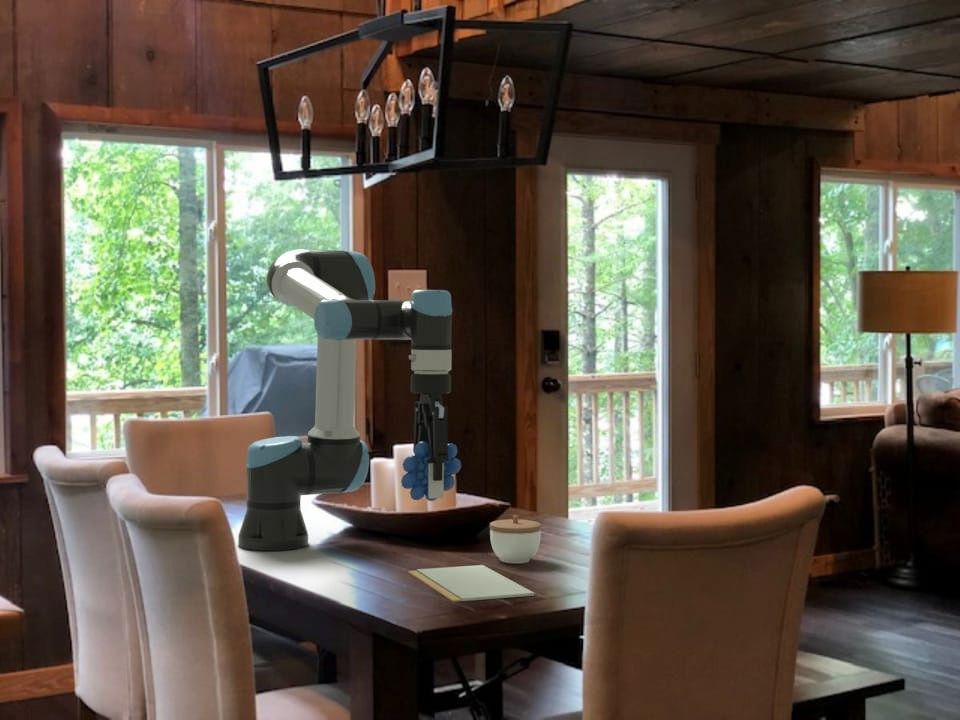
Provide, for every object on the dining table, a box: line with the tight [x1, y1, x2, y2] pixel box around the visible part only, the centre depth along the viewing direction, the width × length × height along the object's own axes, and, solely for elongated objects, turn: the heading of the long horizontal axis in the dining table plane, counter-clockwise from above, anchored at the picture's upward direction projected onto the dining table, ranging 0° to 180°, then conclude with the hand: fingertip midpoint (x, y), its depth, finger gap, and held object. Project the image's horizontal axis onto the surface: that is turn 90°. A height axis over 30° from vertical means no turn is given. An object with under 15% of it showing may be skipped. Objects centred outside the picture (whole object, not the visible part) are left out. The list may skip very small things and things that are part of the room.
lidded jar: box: [489, 514, 542, 564], centre depth 260 cm, size 11×11×9 cm
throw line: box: [407, 570, 462, 603], centre depth 235 cm, size 26×2×1 cm, turn 21°
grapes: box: [400, 442, 462, 502], centre depth 234 cm, size 12×7×12 cm, turn 110°
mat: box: [416, 564, 535, 602], centre depth 238 cm, size 26×14×1 cm, turn 21°
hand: (429, 494), depth 234 cm, fingers closed on grapes, 7 cm apart
